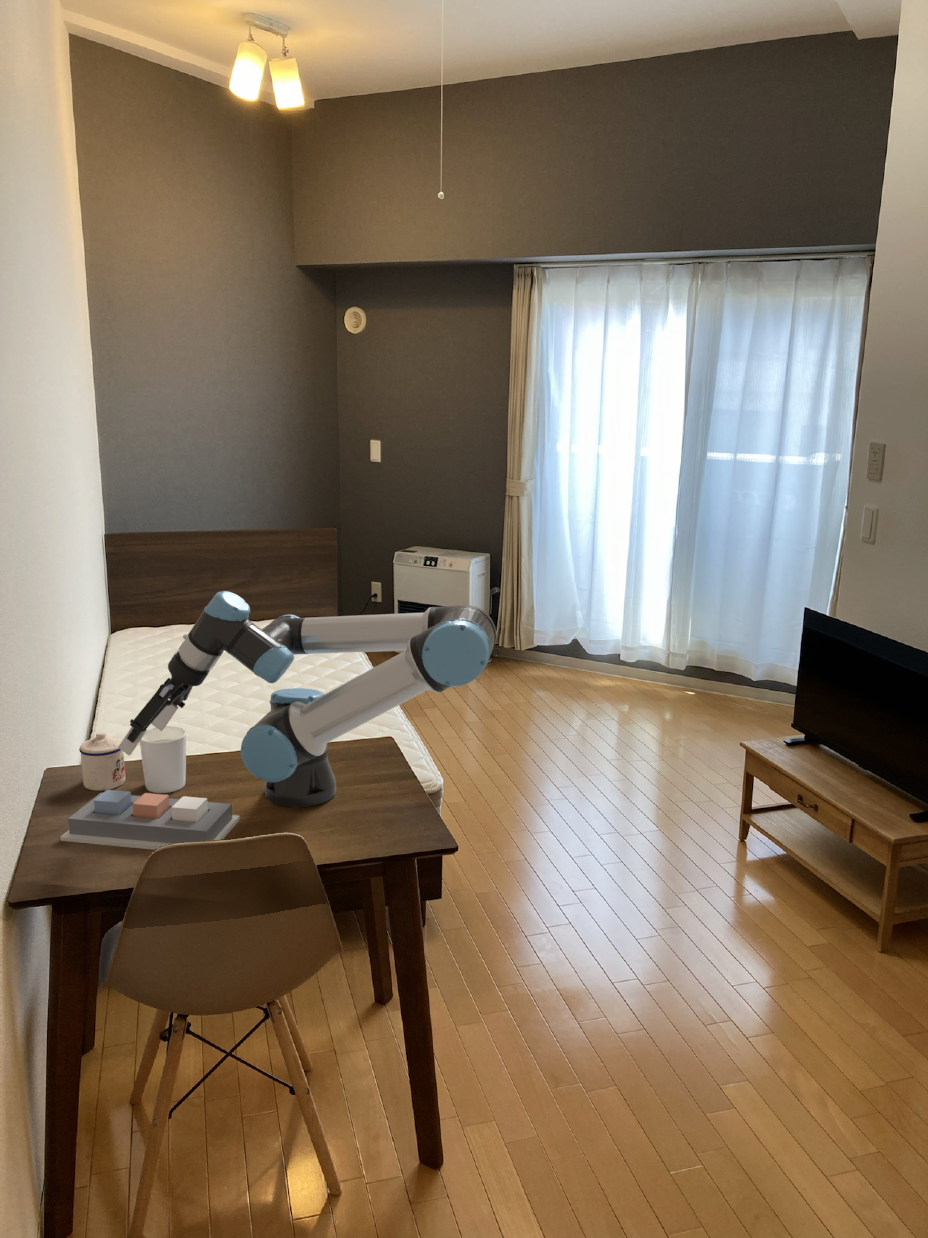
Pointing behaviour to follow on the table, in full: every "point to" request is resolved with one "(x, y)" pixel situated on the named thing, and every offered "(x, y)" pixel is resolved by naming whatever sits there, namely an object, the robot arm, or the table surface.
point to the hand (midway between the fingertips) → (141, 738)
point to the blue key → (112, 802)
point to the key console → (147, 827)
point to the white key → (190, 809)
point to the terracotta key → (151, 805)
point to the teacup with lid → (102, 763)
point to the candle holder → (164, 759)
